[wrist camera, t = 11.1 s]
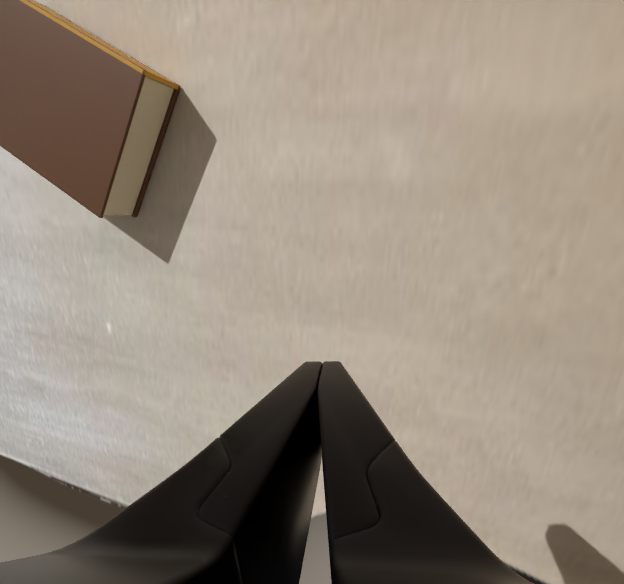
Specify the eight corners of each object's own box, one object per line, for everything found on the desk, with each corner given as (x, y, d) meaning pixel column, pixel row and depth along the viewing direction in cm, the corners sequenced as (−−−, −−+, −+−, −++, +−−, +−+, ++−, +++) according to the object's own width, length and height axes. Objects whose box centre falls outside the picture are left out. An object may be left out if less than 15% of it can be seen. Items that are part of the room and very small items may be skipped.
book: (144, 69, 18) (-6, -20, 20) (99, 217, 21) (-28, 126, 23) (180, 86, 20) (43, 5, 22) (136, 217, 23) (18, 133, 25)
